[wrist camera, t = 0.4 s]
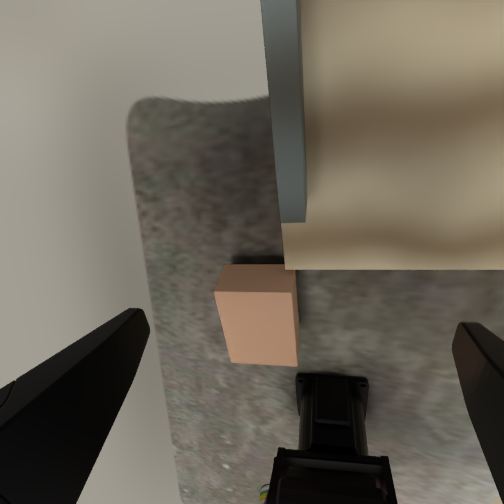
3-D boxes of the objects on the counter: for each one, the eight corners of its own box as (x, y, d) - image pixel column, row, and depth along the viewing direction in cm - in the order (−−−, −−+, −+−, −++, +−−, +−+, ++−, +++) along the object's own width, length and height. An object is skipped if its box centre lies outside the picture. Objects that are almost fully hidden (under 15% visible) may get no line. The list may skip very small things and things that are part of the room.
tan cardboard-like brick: (301, 324, 27) (298, 366, 23) (241, 322, 28) (230, 362, 25) (297, 254, 23) (293, 292, 20) (227, 255, 24) (212, 291, 21)
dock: (553, 245, 19) (623, 308, 15) (288, 248, 23) (280, 300, 18) (728, -154, 11) (1013, -286, 6) (264, -53, 14) (238, -93, 10)
